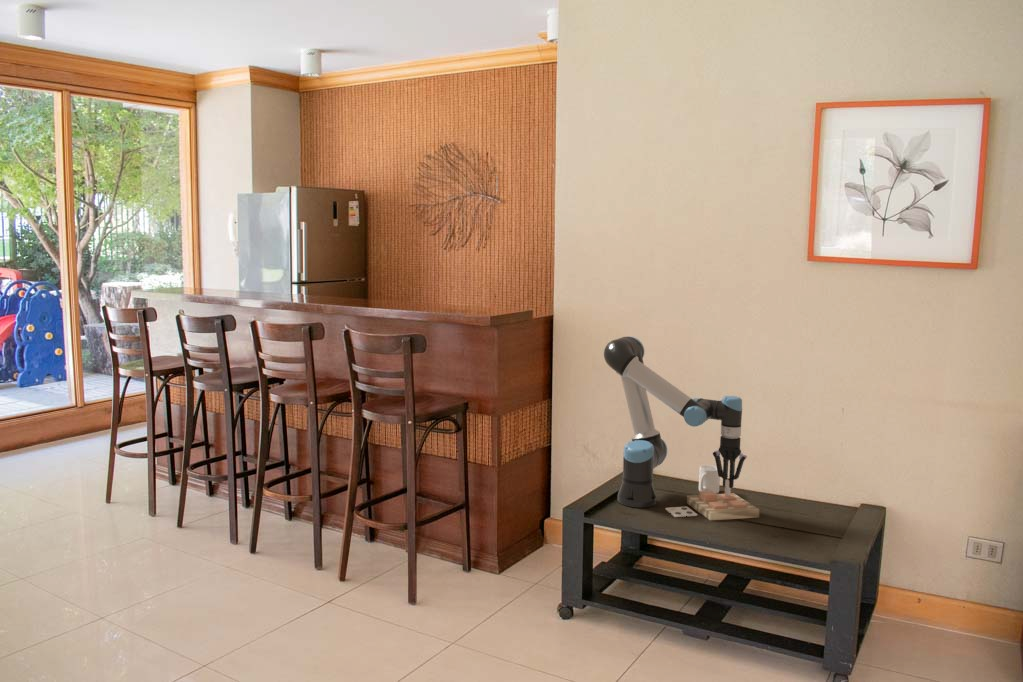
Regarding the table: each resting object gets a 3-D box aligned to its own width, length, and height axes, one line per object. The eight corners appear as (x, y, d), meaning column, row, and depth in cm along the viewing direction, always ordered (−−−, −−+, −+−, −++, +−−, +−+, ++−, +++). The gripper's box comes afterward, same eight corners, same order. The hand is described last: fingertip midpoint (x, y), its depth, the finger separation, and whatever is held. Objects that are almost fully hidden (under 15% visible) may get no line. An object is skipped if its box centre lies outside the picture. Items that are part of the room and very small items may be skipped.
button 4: (727, 509, 316) (728, 500, 315) (739, 509, 317) (739, 500, 316) (733, 514, 311) (734, 505, 310) (745, 513, 312) (746, 504, 312)
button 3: (717, 503, 323) (718, 494, 323) (729, 502, 325) (729, 493, 324) (723, 507, 319) (724, 498, 318) (735, 506, 320) (736, 497, 319)
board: (686, 503, 324) (687, 495, 324) (733, 500, 329) (733, 493, 328) (710, 520, 305) (710, 512, 305) (759, 517, 310) (759, 509, 309)
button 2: (708, 511, 314) (708, 502, 313) (720, 510, 315) (720, 501, 315) (714, 515, 309) (714, 506, 309) (726, 514, 310) (727, 505, 310)
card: (665, 509, 316) (665, 507, 316) (686, 508, 318) (687, 506, 318) (675, 517, 308) (675, 515, 308) (697, 515, 310) (697, 513, 310)
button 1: (699, 500, 321) (699, 491, 321) (711, 499, 323) (711, 490, 322) (705, 504, 317) (705, 495, 316) (716, 503, 318) (717, 494, 317)
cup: (722, 491, 340) (723, 467, 339) (710, 498, 331) (711, 473, 330) (703, 487, 345) (705, 463, 344) (691, 494, 336) (692, 469, 335)
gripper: (710, 435, 318) (708, 494, 321) (744, 440, 311) (741, 501, 314) (717, 432, 325) (714, 490, 328) (750, 436, 318) (747, 495, 321)
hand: (727, 495), depth 321 cm, fingers closed
